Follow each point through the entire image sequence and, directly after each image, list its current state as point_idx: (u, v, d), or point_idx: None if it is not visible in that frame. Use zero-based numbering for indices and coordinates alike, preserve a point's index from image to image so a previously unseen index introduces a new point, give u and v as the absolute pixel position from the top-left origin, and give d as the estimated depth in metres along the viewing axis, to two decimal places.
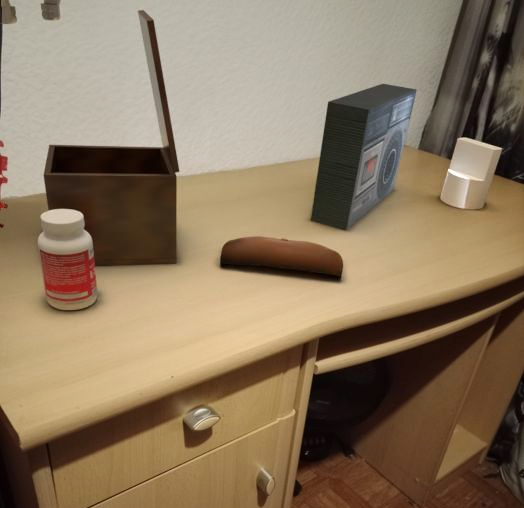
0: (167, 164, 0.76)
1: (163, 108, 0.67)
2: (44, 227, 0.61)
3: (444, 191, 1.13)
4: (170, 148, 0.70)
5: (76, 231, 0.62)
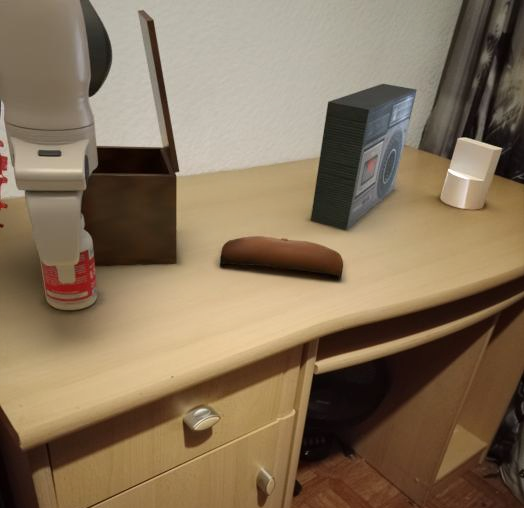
0: (167, 164, 0.76)
1: (163, 108, 0.67)
2: None
3: (444, 191, 1.13)
4: (170, 148, 0.70)
5: None
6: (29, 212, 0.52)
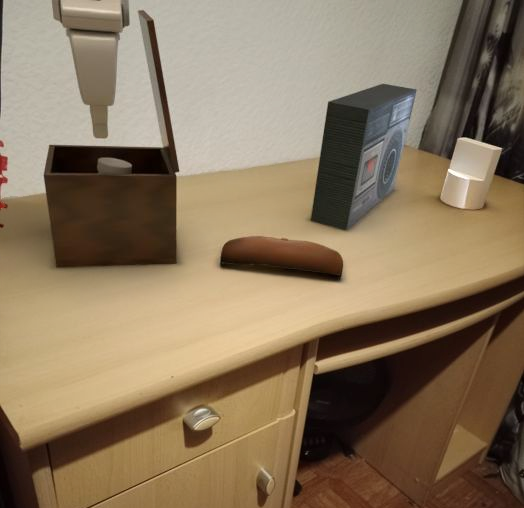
0: (167, 164, 0.76)
1: (163, 108, 0.67)
2: (100, 168, 0.75)
3: (444, 191, 1.13)
4: (170, 148, 0.70)
5: None
6: (73, 48, 0.59)
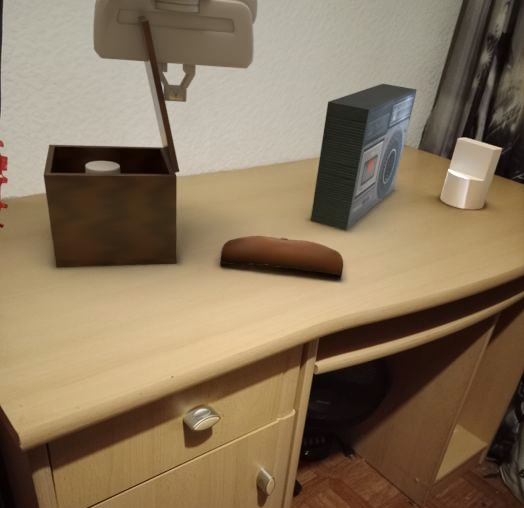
0: (167, 164, 0.76)
1: (161, 108, 0.67)
2: None
3: (444, 191, 1.13)
4: (169, 148, 0.70)
5: None
6: None
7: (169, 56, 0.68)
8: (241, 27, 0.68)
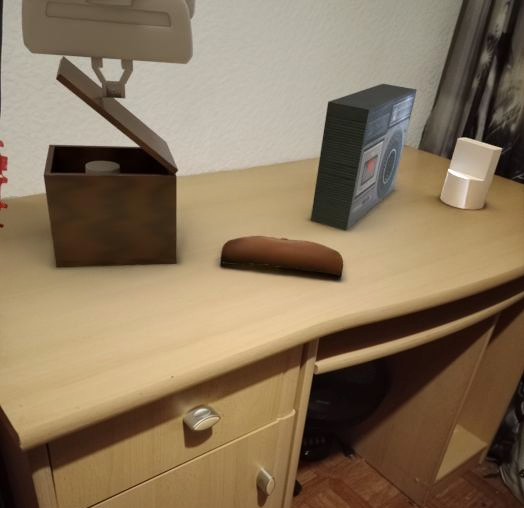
0: None
1: (124, 133, 0.67)
2: None
3: (444, 191, 1.13)
4: (156, 158, 0.70)
5: None
6: None
7: (103, 51, 0.66)
8: (178, 21, 0.66)
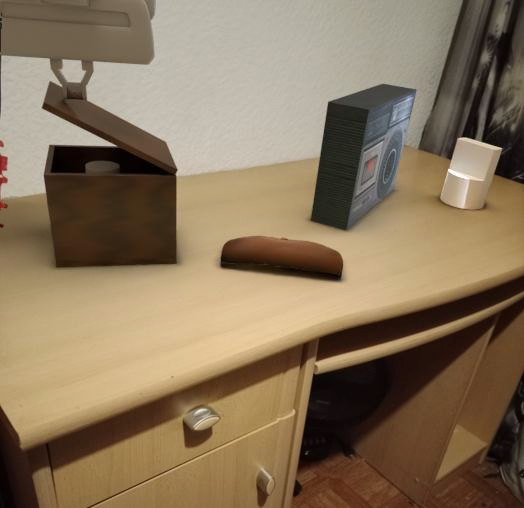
0: None
1: (118, 145, 0.68)
2: None
3: (444, 191, 1.13)
4: (153, 163, 0.70)
5: None
6: None
7: (61, 52, 0.65)
8: (137, 21, 0.65)
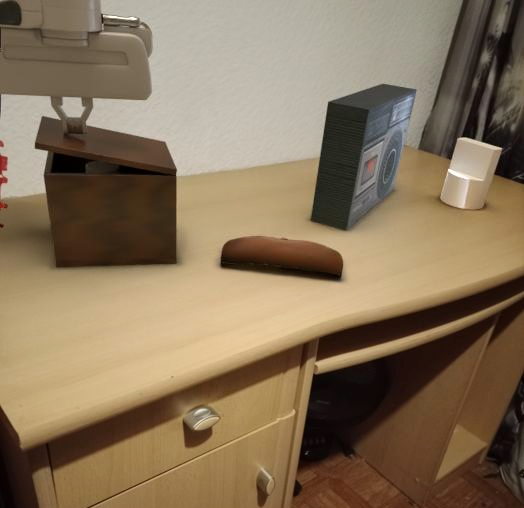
0: None
1: (114, 162, 0.69)
2: None
3: (444, 191, 1.13)
4: (152, 169, 0.71)
5: None
6: None
7: (62, 90, 0.67)
8: (135, 60, 0.67)
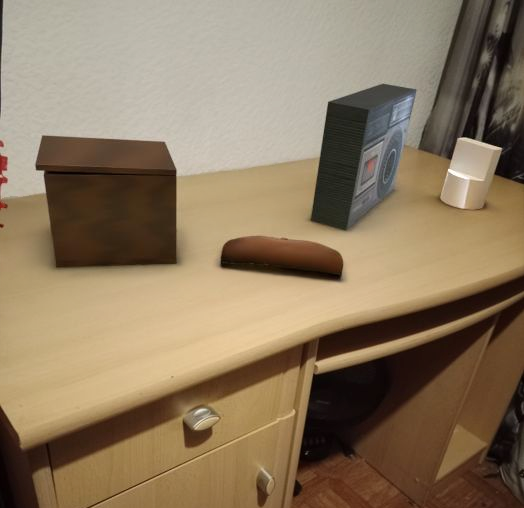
0: None
1: (114, 172, 0.70)
2: None
3: (444, 191, 1.13)
4: (152, 173, 0.71)
5: None
6: None
7: None
8: None
